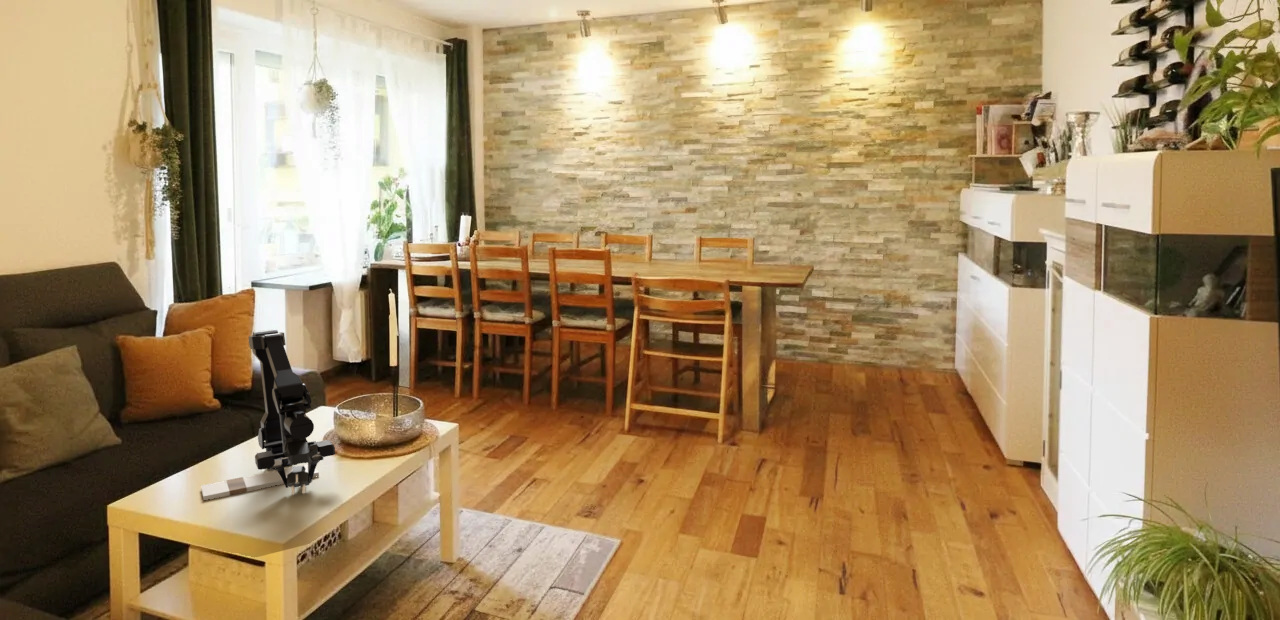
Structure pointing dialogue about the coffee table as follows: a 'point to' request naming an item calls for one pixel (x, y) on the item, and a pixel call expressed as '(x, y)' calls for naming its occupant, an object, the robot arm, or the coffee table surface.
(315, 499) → the coffee table surface
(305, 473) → the power plug
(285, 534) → the coffee table surface
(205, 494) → the board
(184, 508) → the coffee table surface
